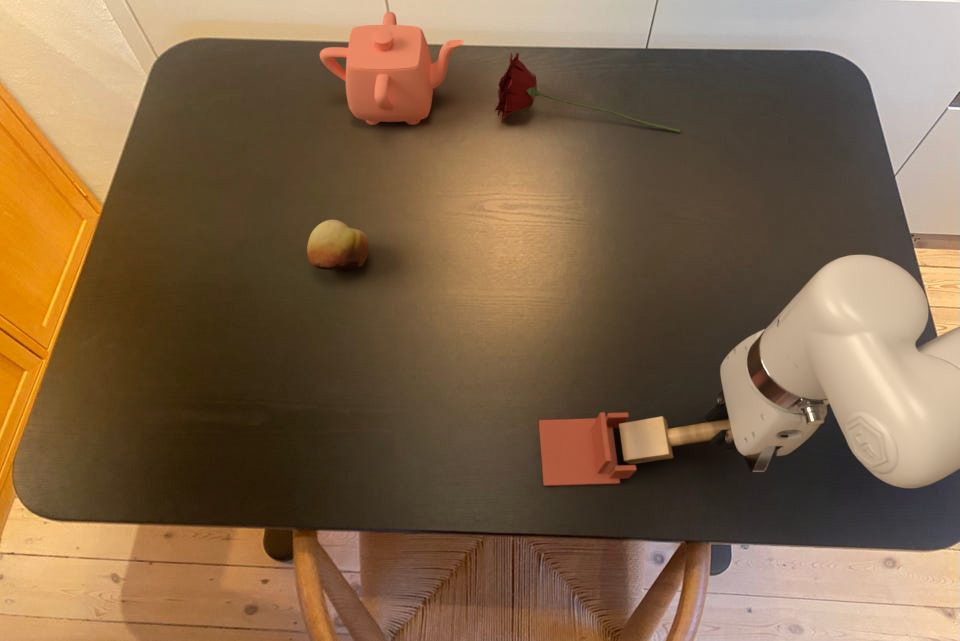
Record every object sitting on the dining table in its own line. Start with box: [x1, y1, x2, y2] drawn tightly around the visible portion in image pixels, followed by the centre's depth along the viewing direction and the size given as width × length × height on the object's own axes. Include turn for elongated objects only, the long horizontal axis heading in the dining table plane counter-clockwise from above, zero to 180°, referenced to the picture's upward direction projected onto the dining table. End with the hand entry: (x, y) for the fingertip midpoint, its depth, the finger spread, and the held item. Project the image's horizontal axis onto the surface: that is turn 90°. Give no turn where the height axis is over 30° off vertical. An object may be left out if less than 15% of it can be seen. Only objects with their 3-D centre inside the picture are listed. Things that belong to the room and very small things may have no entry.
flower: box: [494, 51, 681, 134], centre depth 96 cm, size 11×10×30 cm
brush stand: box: [538, 411, 637, 487], centre depth 71 cm, size 10×8×7 cm
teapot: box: [319, 11, 465, 126], centre depth 94 cm, size 17×16×13 cm
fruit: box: [306, 219, 369, 272], centre depth 82 cm, size 8×8×8 cm
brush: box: [618, 415, 731, 465], centre depth 68 cm, size 15×4×3 cm, turn 92°
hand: (721, 430), depth 67 cm, fingers closed on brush, 2 cm apart
